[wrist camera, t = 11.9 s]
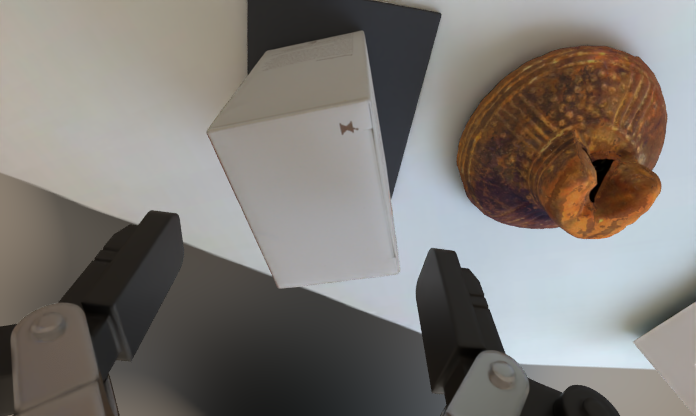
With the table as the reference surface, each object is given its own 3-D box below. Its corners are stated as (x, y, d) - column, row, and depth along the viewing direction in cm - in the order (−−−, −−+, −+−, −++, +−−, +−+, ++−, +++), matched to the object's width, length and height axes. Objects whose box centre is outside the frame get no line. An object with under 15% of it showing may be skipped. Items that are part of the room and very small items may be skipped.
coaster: (248, 178, 26) (247, 181, 26) (249, -23, 19) (247, -22, 19) (390, 198, 27) (390, 202, 26) (440, 12, 20) (441, 14, 19)
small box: (265, 48, 20) (198, 125, 12) (365, 27, 20) (371, 93, 11) (303, 173, 25) (274, 293, 16) (386, 159, 24) (401, 278, 16)
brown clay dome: (418, 170, 25) (436, 241, 19) (559, -5, 19) (650, 20, 13) (542, 240, 28) (590, 318, 22) (697, 109, 22) (820, 170, 16)
